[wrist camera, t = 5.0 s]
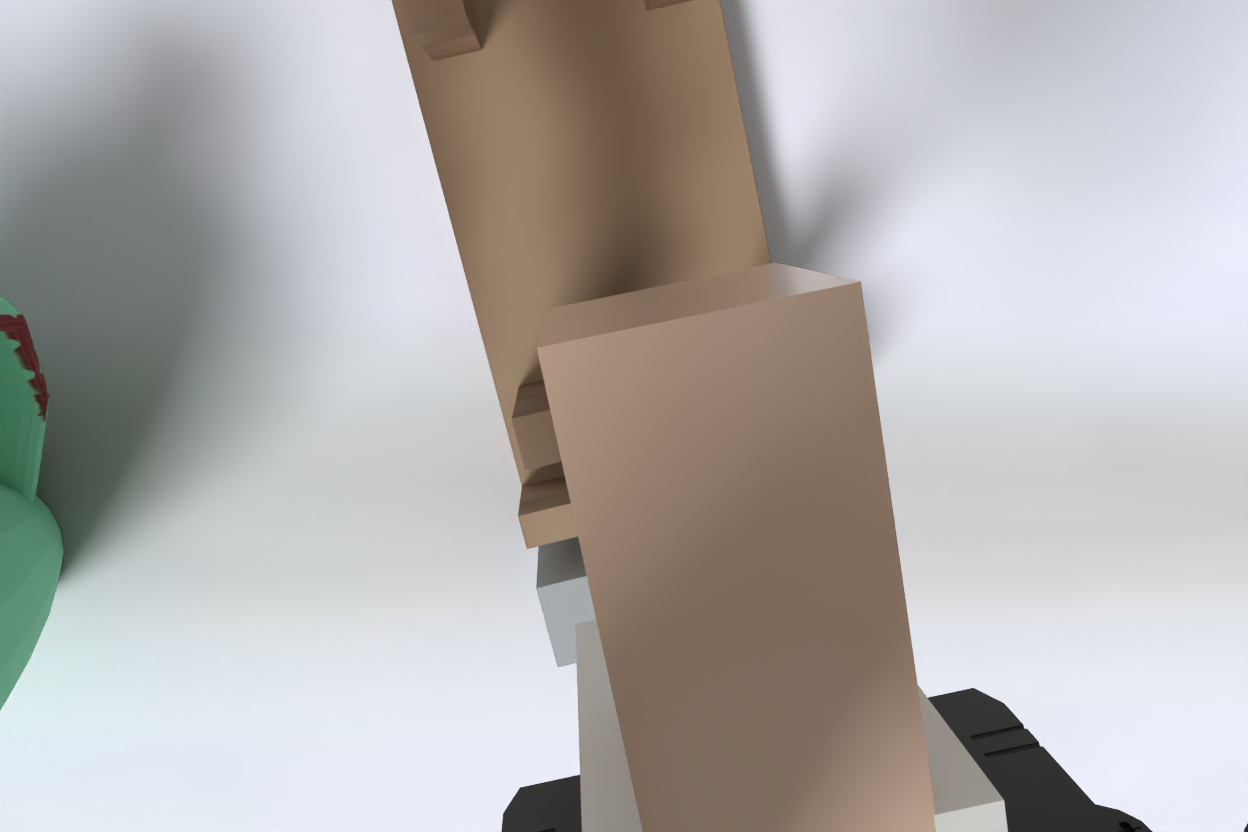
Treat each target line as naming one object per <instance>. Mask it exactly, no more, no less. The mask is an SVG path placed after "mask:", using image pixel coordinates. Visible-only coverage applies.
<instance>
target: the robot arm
mask: <svg viewBox="0 0 1248 832" xmlns="http://www.w3.org/2000/svg"><path fill="white" fill-rule="evenodd" d="M576 653H577V685H578V718H579V751H580V775H577V776H572V777H568V778H563V779H558V780H554V781H549V782H544V783H540V784H535V785H530V786H526V787H521V788H520V789H519V790H518V792H517V793H516V795H515V796H514V798H513V799H512V801H511V802H510V804H509V806H508V807H507V809H506V810H505V812H504V813H503V823H502V832H643V831H642V826H641V821H640V817H639V812H638V808H637V803H636V799H635V794H634V790H633V785H632V780H631V776H630V771H629V767H628V762H627V758H626V753H625V748H624V744H623V739H622V735H621V730H620V726H619V721H618V717H617V712H616V707H615V703H614V698H613V694H612V689H611V685H610V680H609V675H608V671H607V666H606V662H605V657H604V653H603V648H602V644H601V639H600V634H599V630H598V625H597V621H596V620H592V621H588V622H583V623H578V624H576ZM917 686H918V685H917ZM918 693H919V700H920V707H921V714H922V721H923V728H924V735H925V742H926V749H927V757H928V764H929V771H930V778H931V785H932V792H933V799H934V806H935V813H936V815H934V821H935V828H936V832H1152V831H1151V830H1150V829H1149V828H1148V827H1147V826H1146V825H1145V824H1144V823H1143V822H1142V821H1140V820H1138V819H1136V818H1134V817H1132V816H1130V815H1128V814H1126V813H1124V812H1122V811H1120V810H1117V809H1113V808H1108V807H1104V806H1100V805H1096V804H1094V803H1093V802H1092V801H1091V799H1090V798H1089V797H1088V796H1087V795H1086V794H1085V793H1084V792H1083V791H1082V789H1081V788H1080V787H1079V786H1078V785H1077V784H1076V783H1075V782H1074V781H1073V779H1072V778H1071V777H1070V776H1069V775H1068V774H1067V773H1066V772H1065V771H1064V769H1063V768H1062V767H1061V766H1060V765H1059V764H1058V763H1057V762H1056V761H1055V759H1054V758H1053V757H1052V756H1051V755H1050V754H1049V753H1048V752H1047V751H1046V749H1045V748H1044V747H1043V746H1042V747H1040V745H1039V742H1038V741H1037V739H1036V738H1035V737H1034V736H1033V735H1032V734H1031V733H1030V732H1029V731H1028V729H1024V726H1023V724H1022V723H1021V722H1020V721H1019V719H1018V718H1017V717H1016V716H1015V715H1014V714H1013V713H1012V712H1011V711H1010V709H1009V708H1008V707H1007V706H1006V705H1005V704H1004V703H1002V702H1000V701H998V700H996V699H994V698H992V697H990V696H988V695H986V694H984V693H982V692H980V691H978V690H976V689H974V688H971V689H967V690H962V691H957V692H953V693H948V694H943V695H938V696H934V697H929V698H927V697H926V695H925V694H924V693H923V691H922V690H921V689H920V687H919V686H918ZM1244 832H1248V824H1247V826H1246V828H1245V829H1244Z"/></svg>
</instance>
